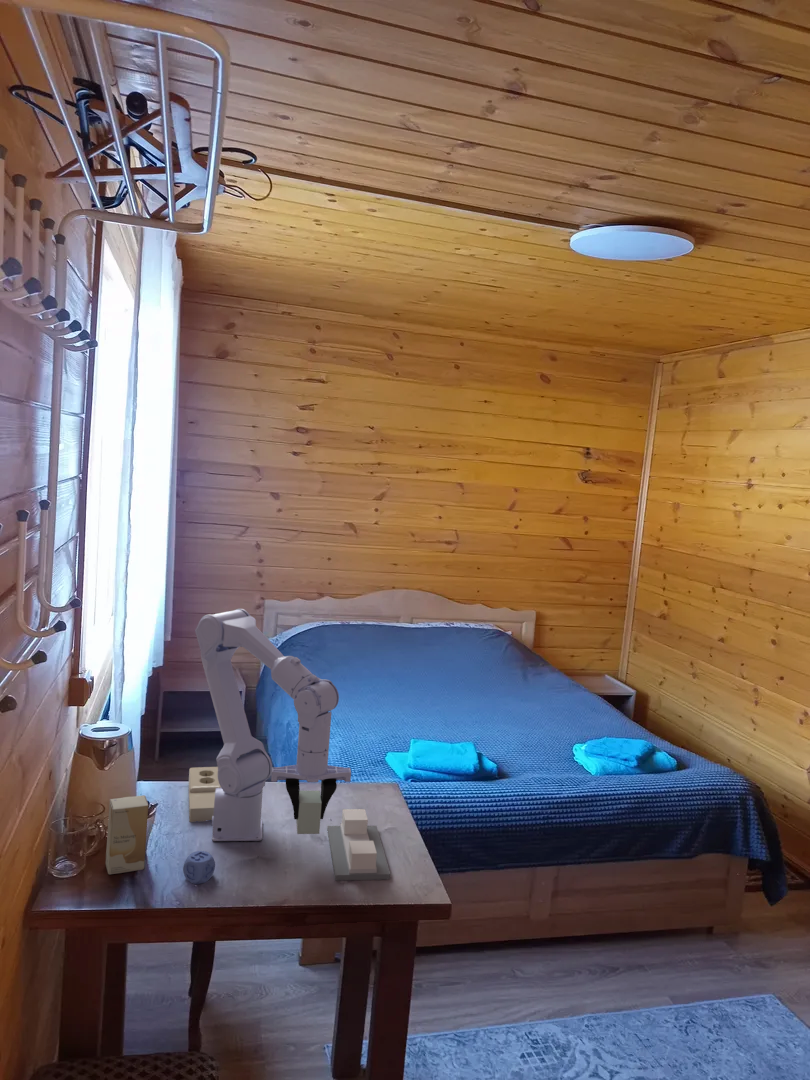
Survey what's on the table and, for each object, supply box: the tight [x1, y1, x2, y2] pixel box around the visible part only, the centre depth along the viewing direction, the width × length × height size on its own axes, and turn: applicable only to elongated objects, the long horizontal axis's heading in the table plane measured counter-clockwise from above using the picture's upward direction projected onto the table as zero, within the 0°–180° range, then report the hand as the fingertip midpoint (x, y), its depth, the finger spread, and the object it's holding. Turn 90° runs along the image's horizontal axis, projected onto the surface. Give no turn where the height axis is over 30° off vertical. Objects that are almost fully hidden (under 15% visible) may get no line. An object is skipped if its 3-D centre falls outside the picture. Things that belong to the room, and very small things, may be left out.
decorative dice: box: [182, 850, 216, 885], centre depth 138 cm, size 4×4×4 cm
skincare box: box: [105, 795, 149, 875], centre depth 139 cm, size 6×4×12 cm
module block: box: [295, 790, 322, 835], centre depth 146 cm, size 4×5×6 cm
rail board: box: [327, 808, 391, 881], centre depth 150 cm, size 10×18×5 cm, turn 10°
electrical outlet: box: [188, 766, 221, 823], centre depth 167 cm, size 7×4×18 cm
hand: (308, 816), depth 146 cm, fingers closed on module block, 4 cm apart
